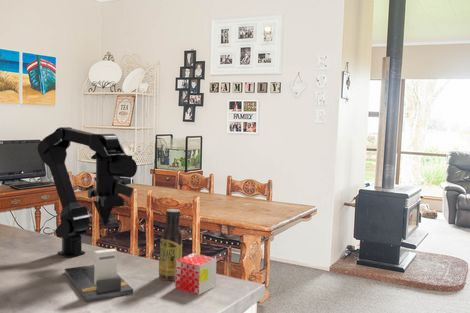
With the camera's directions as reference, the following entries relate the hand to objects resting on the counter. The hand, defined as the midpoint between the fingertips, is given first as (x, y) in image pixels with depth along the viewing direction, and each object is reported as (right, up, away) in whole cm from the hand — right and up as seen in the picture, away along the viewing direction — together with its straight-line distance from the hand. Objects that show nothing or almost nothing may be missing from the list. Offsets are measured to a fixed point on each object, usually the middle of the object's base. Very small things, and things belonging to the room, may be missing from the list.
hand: (105, 224), depth 147 cm
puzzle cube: (+30, -15, -17) cm, 37 cm away
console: (+2, -14, -17) cm, 22 cm away
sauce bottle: (+22, -14, -11) cm, 28 cm away
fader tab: (+7, -13, -23) cm, 27 cm away
